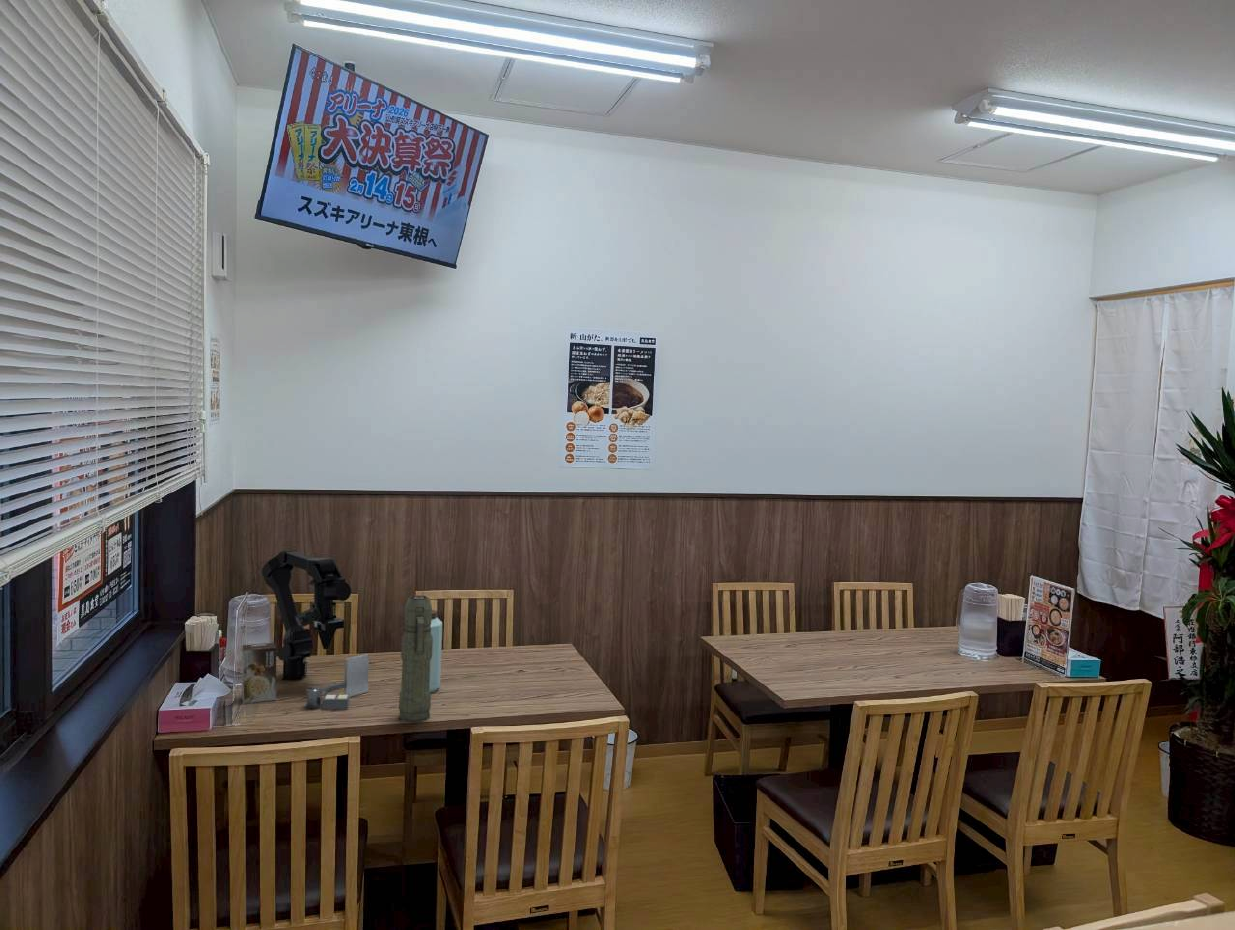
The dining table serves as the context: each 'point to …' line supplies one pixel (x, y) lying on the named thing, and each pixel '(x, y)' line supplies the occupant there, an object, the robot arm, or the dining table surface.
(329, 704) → the block
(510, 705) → the dining table surface
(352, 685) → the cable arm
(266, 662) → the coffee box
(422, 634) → the thermos
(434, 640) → the water bottle
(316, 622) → the robot arm
